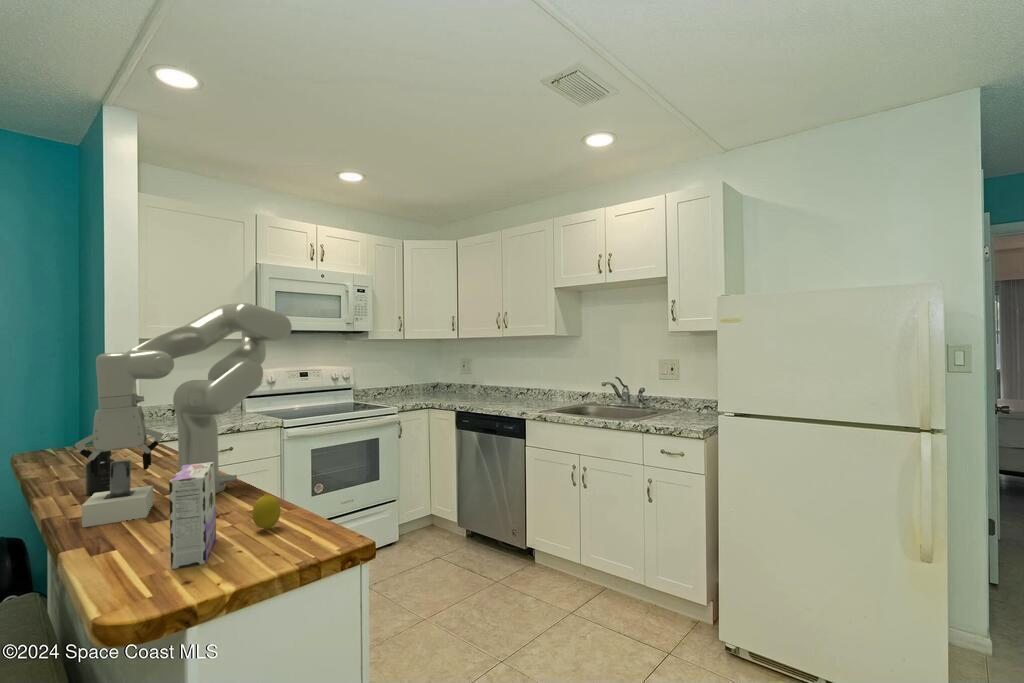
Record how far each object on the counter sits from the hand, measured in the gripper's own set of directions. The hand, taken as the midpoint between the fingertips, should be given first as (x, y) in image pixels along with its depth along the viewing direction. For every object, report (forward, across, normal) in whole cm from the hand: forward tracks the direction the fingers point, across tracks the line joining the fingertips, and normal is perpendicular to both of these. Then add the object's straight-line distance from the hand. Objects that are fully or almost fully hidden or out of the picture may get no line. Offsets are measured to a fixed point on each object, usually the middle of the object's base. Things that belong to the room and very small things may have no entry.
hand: (122, 471), depth 125 cm
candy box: (+10, -17, +39) cm, 43 cm away
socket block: (+10, +1, +1) cm, 10 cm away
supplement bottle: (+11, +10, -28) cm, 32 cm away
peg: (+9, +1, +1) cm, 9 cm away
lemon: (+11, -30, +33) cm, 46 cm away
